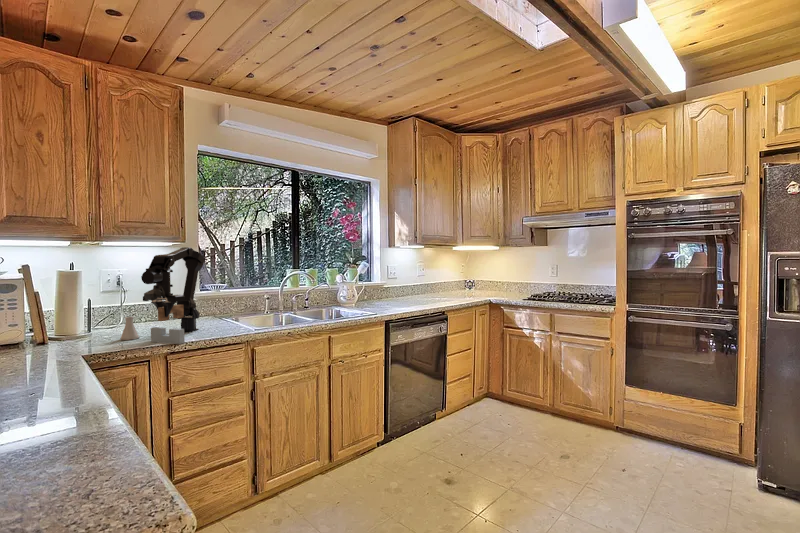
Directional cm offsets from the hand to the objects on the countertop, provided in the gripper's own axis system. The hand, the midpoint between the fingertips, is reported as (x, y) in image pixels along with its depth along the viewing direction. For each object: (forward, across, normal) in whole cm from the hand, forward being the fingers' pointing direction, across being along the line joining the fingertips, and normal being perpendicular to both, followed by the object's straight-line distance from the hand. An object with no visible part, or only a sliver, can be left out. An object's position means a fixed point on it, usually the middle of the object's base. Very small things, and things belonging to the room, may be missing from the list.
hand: (164, 316), depth 189 cm
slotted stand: (+10, +8, -6) cm, 14 cm away
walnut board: (+2, 0, +4) cm, 4 cm away
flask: (+10, -15, -5) cm, 19 cm away
